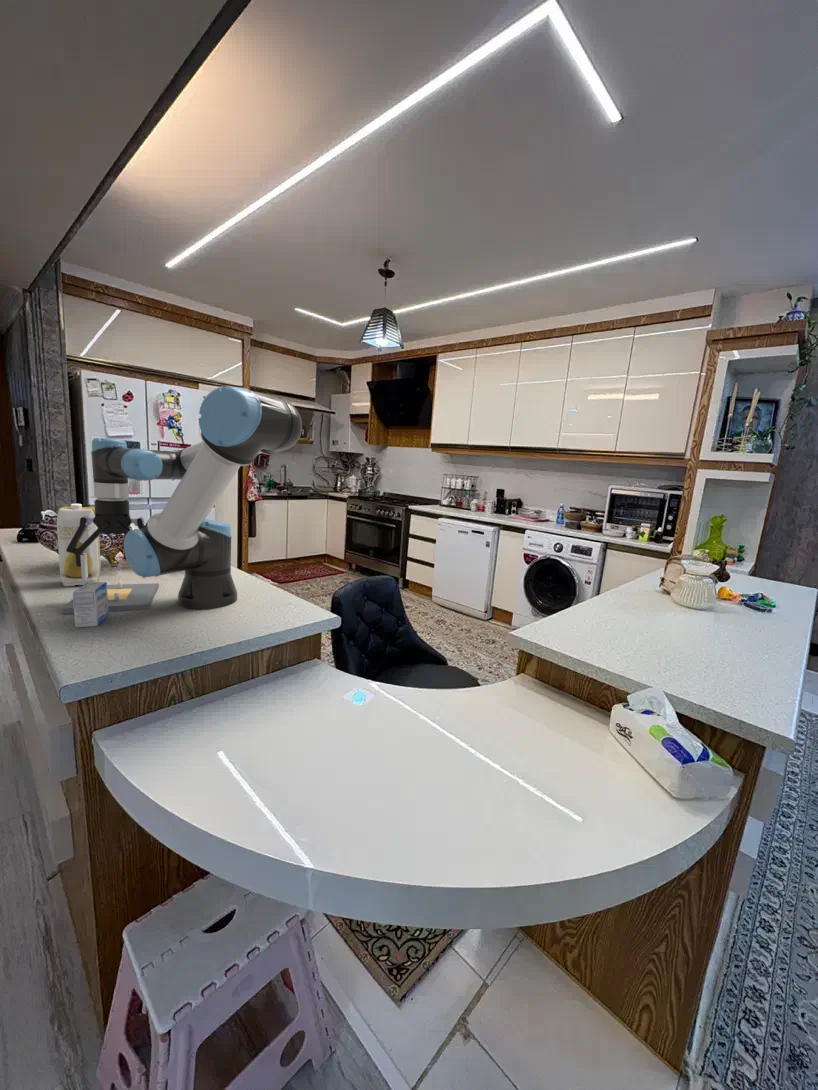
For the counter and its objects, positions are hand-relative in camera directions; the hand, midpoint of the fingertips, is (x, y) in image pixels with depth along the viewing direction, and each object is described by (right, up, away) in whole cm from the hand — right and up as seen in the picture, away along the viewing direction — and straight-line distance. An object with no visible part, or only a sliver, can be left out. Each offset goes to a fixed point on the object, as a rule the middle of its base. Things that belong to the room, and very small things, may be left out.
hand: (115, 577), depth 118 cm
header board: (-1, -6, +1) cm, 6 cm away
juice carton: (-19, -3, +13) cm, 23 cm away
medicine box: (+4, -10, -14) cm, 18 cm away
